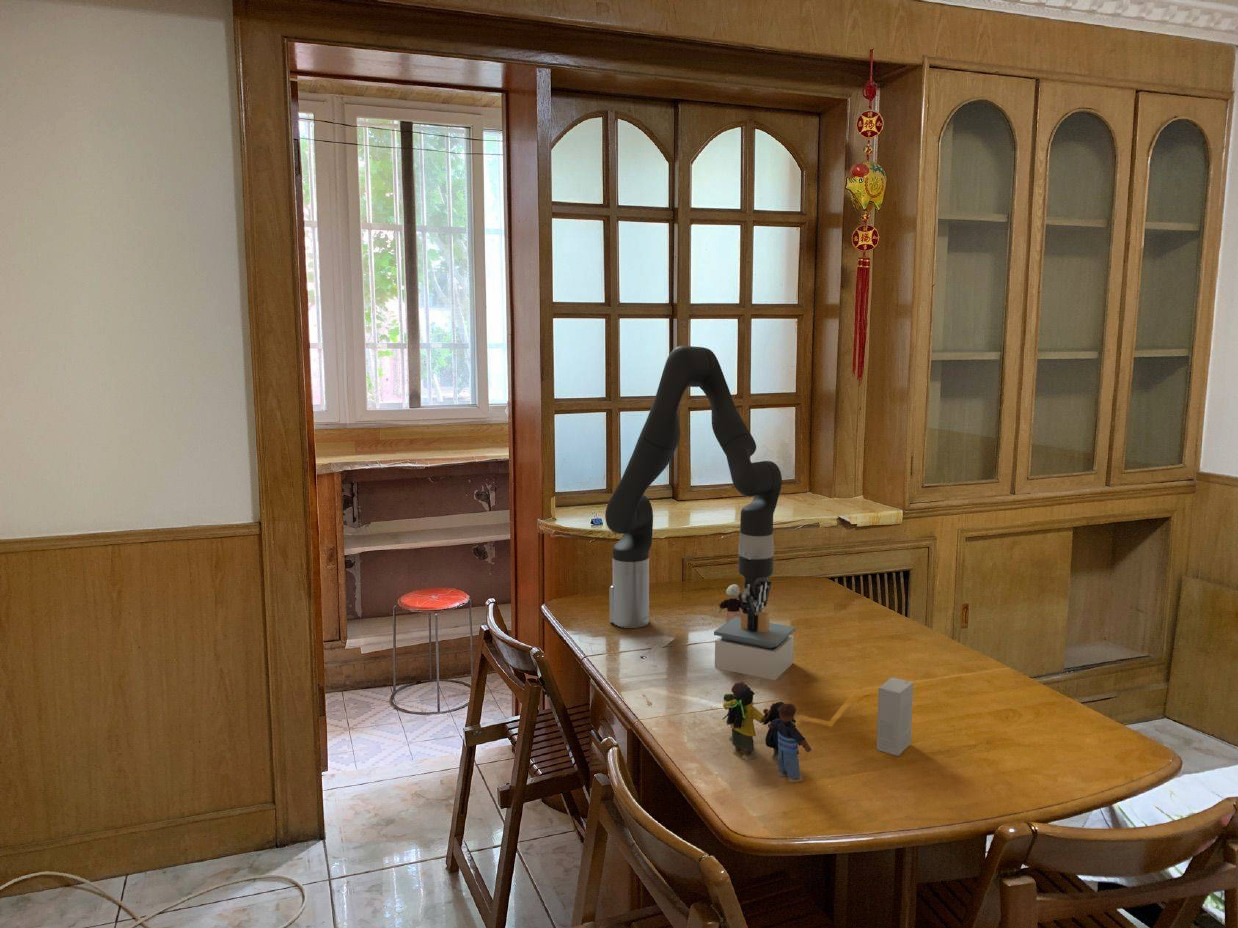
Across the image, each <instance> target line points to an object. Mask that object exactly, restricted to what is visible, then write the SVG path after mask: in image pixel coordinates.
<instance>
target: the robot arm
mask: <svg viewBox="0 0 1238 928" xmlns="http://www.w3.org/2000/svg"><path fill="white" fill-rule="evenodd" d="M659 380H660V381H659V383H658V387H657V390H656V393H655V395H654V396H655V397H654V399H653V401H652V402H653V403H652V405H651V408H650V410H649V412H648V415H647V417H646V421H645V423H644V424H643V427H642V429H641V431H640V434H639V436H638V438H637V441H636V444H635V447H634V450H633V452H632V454H631V457H630V459H629V461H628V463H627V466H626V468H625V470H624V472H623V475H622V477H621V479H620V480H619V483H618V484H617V486H616V488H615V489H614V492H613V493H612V495H611V496H610V499H609V500H608V503H607V506H606V507H605V508H606V509H605V515H604V517H605V523H606V526H607V527H608V529H609V531H611V532H612V533H614V534H619V535H620V534H622V535H621V537H620V539H619V540H618V541H617V542H616V543H615V544H614V546H613V547H612V550H611V551H612V553H611V554H612V555H611V556H612V562H611V563H612V585H610V586H609V589H608V591H609V593H608V594H609V623H610V622H613V623H614V625H615V626H616V625H617V626H616V627H619V626H620V627H619V628H623V627H624V628H626V629H636V628H642V627H645V626H648V625H649V622H650V550H651V547H652V544H653V532H654V529H653V527H654V510H653V507H652V506H653V505H652V503H651V501H650V499H649V498H648V497H647V496H646V495H645V492H646V491H647V489H648V488H649V487H650V486H651V485H652V483H653V482H654V481H655V480H657V478H658V477H659V476H660V475H661V474H662V473H663V472H664V471H665V470H666V468H667V466H668V465H669V464H670V463H671V460H672V458H673V456H674V454H675V452H676V449H677V447H678V445H679V442H680V438H681V429H680V428H681V427H680V422H679V421H680V420H679V414H678V413H679V412H678V411H679V406H680V403H681V400H682V398H683V395H684V394H685V391H686V389H687V388H700V389H701V390H702V392H703V393H704V395H705V396H706V398H707V399H708V402H709V404H710V409H711V410H710V411H711V429H712V430H713V431H712V432H713V433H714V434H713V435H714V437H715V438H716V440H717V442H718V445H719V446H720V447H721V449H722V452H723V453H724V454H725V456H726V460H727V464H728V469H729V472H730V473H729V474H730V477H731V481H732V484H733V487H734V488H735V490H736V491H738V493H740V494H741V495H743V496H745V497H753V499H752V501H751V502H750V503H748V504H746V505H745V506H743V507H742V508H741V510H740V519H739V520H740V521H739V522H740V524H739V525H740V527H739V528H740V530H739V531H740V532H739V539H738V563H737V564H738V565H737V566H738V569H737V570H738V574H740V575H741V576H742V577H744V583H743V592H739V596H738V600H739V601H740V605H741V608H742V609H741V608H740V609H741V610H742V611H743V613H744V614H748V622H747V629H748V630H749V631H754V632H756V631H757V630H758V611H760V612H764V608H765V607H767V604H768V600H769V595H770V590H771V588H772V587H771V586H772V580H769V579H768V578H769V577H771V576H772V575H773V574H774V554H775V553H774V552H775V547H774V546H775V544H774V543H775V542H774V514H775V511H776V507H777V505H778V504H777V503H778V501H779V498H780V493H781V489H782V483H783V478H782V477H783V476H782V471H781V470H780V467H779V466H778V465H777V464H776V462H773V461H771V460H763V461H755V462H752V461H751V460H750V457H752V456H753V455H754V454H755V453H756V450H757V444H756V443H757V442H756V441H755V439H754V437H753V436H752V434H751V431H750V430H749V428H748V427H747V425H746V424H745V422H744V420H743V418H742V416H741V415H740V413H739V411H738V408H737V406H736V405H735V401H734V399H733V397H732V394H731V391H730V387H729V385H728V383H727V381H726V378H725V375H724V372H723V370H722V366H721V365H720V362H719V360H718V357H717V356H716V354H715V353H714V351H712V350H711V349H709V348H708V347H703V346H689V345H678V346H676V347H675V348H674V349H672V351H671V352H670V353H669V355H668V356H667V359H666V361H665V364H664V367H663V370H662V374H661V377H660V379H659ZM613 623H612V624H613Z"/></svg>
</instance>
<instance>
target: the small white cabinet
mask: <svg viewBox="0 0 1238 928" xmlns="http://www.w3.org/2000/svg"><path fill="white" fill-rule="evenodd" d="M794 638H795V636H793V635H789V636H788V637H787V638H786V639H785V640H784V641H782V642H781V643H780V644H779V645H778V646H777V647H773V648H768V647H763V646H758V645H752V644H747V643H742V642H737V641H732V640H727V639H722V636H718V638H716V639H715V640H714V650H715V651H714V668H716V669H720V670H724V671H730V672H734V673H739V674H743V675H748V676H752V677H757V678H758V677H759V678H762V679H767V680H772V681H776V680H777V679H778V678H779V677H780V676H781V675H782V674H783V673H785V672H786V670H788V669H789V668H790V667H791V666H792V665H793V664H794ZM764 648H766V649H764ZM768 649H772V650H768Z"/></svg>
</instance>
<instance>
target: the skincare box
mask: <svg viewBox="0 0 1238 928" xmlns="http://www.w3.org/2000/svg"><path fill="white" fill-rule="evenodd" d="M913 694H914V683H913V682H912V681H909V680H908V681H907V680H904V679H900V678H896V677H890V678H889V679H888V680H886V682H884V683H883V684H882V685H880V686H879V687H878V695H877V697H878V699H877V725H876V726H877V728H876V750H877V751H879V752H883V753H887V754H890V755H893V756H897V757H899V756H900V755H901V754H902V753H903V752H904V751H905V750H906V749H907V748H908V747H909V746H910V745H911V744H912V725H913V724H912V723H913V700H914V698H913V697H914V695H913Z"/></svg>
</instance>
